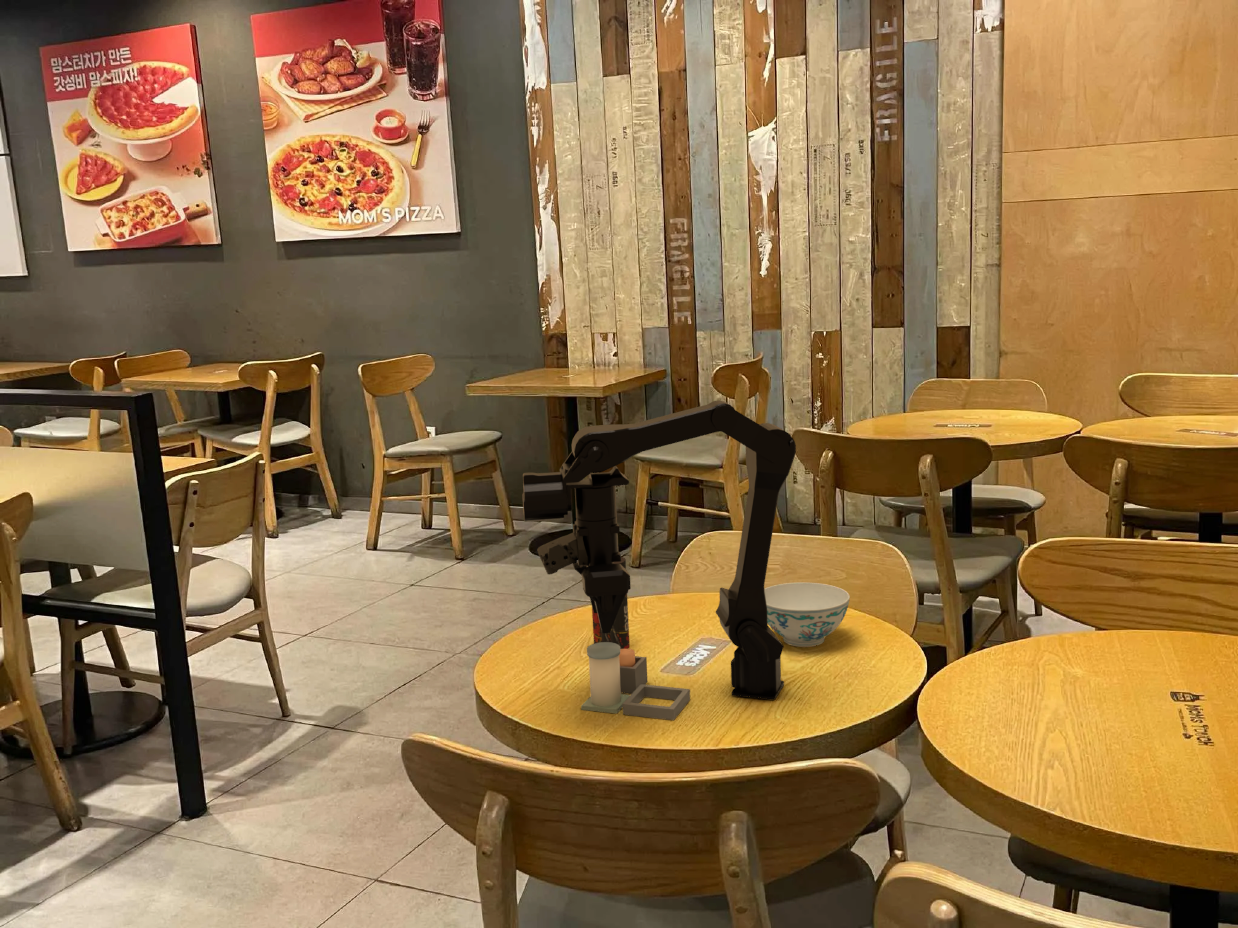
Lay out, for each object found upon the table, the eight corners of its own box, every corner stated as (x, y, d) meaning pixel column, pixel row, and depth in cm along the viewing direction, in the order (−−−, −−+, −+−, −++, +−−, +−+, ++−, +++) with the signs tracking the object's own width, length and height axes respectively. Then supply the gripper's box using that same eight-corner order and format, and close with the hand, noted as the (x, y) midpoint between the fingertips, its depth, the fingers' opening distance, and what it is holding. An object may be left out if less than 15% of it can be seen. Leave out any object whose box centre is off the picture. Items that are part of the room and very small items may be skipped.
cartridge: (608, 690, 163) (606, 639, 162) (629, 700, 160) (626, 647, 158) (583, 700, 160) (580, 648, 159) (603, 709, 157) (600, 656, 155)
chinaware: (756, 655, 177) (755, 609, 175) (760, 624, 191) (759, 581, 190) (851, 656, 174) (851, 610, 173) (848, 625, 189) (847, 582, 187)
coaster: (630, 698, 162) (630, 694, 161) (616, 713, 157) (616, 709, 156) (595, 695, 164) (595, 691, 163) (581, 709, 158) (581, 705, 158)
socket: (690, 699, 160) (689, 688, 160) (673, 720, 153) (673, 709, 153) (641, 694, 163) (640, 683, 163) (623, 714, 156) (622, 703, 156)
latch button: (638, 674, 167) (637, 649, 166) (631, 681, 164) (630, 656, 163) (620, 672, 168) (619, 647, 167) (613, 679, 165) (611, 654, 164)
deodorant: (629, 652, 180) (625, 564, 178) (593, 654, 181) (588, 565, 178) (629, 640, 186) (625, 554, 184) (594, 641, 186) (590, 556, 184)
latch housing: (647, 681, 168) (646, 657, 167) (636, 694, 163) (635, 668, 162) (617, 678, 169) (615, 654, 169) (604, 691, 165) (603, 665, 164)
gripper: (534, 507, 163) (540, 607, 166) (545, 537, 145) (551, 649, 147) (608, 501, 164) (613, 601, 167) (628, 530, 146) (633, 642, 149)
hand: (601, 622), depth 158 cm, fingers open, 9 cm apart
